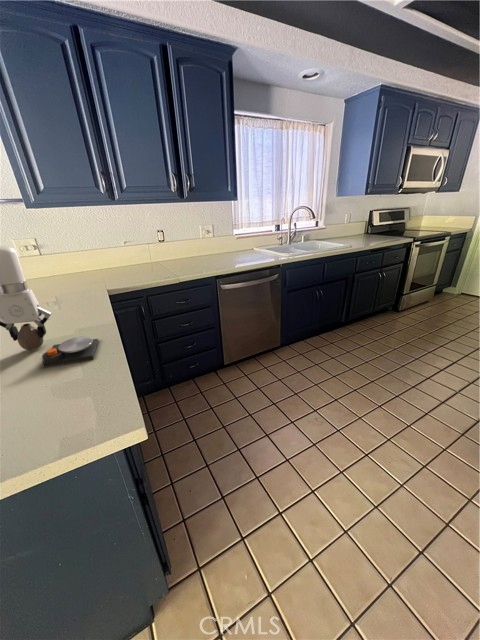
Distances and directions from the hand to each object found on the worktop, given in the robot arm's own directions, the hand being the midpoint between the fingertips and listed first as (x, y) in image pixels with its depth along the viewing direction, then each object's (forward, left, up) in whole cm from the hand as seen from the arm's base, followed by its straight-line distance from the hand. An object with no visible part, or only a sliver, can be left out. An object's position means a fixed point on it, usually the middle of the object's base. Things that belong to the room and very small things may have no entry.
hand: (30, 337), depth 90 cm
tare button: (+9, -11, -2) cm, 15 cm away
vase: (0, 0, -4) cm, 4 cm away
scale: (+14, -8, -5) cm, 16 cm away
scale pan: (+15, -8, -2) cm, 17 cm away
